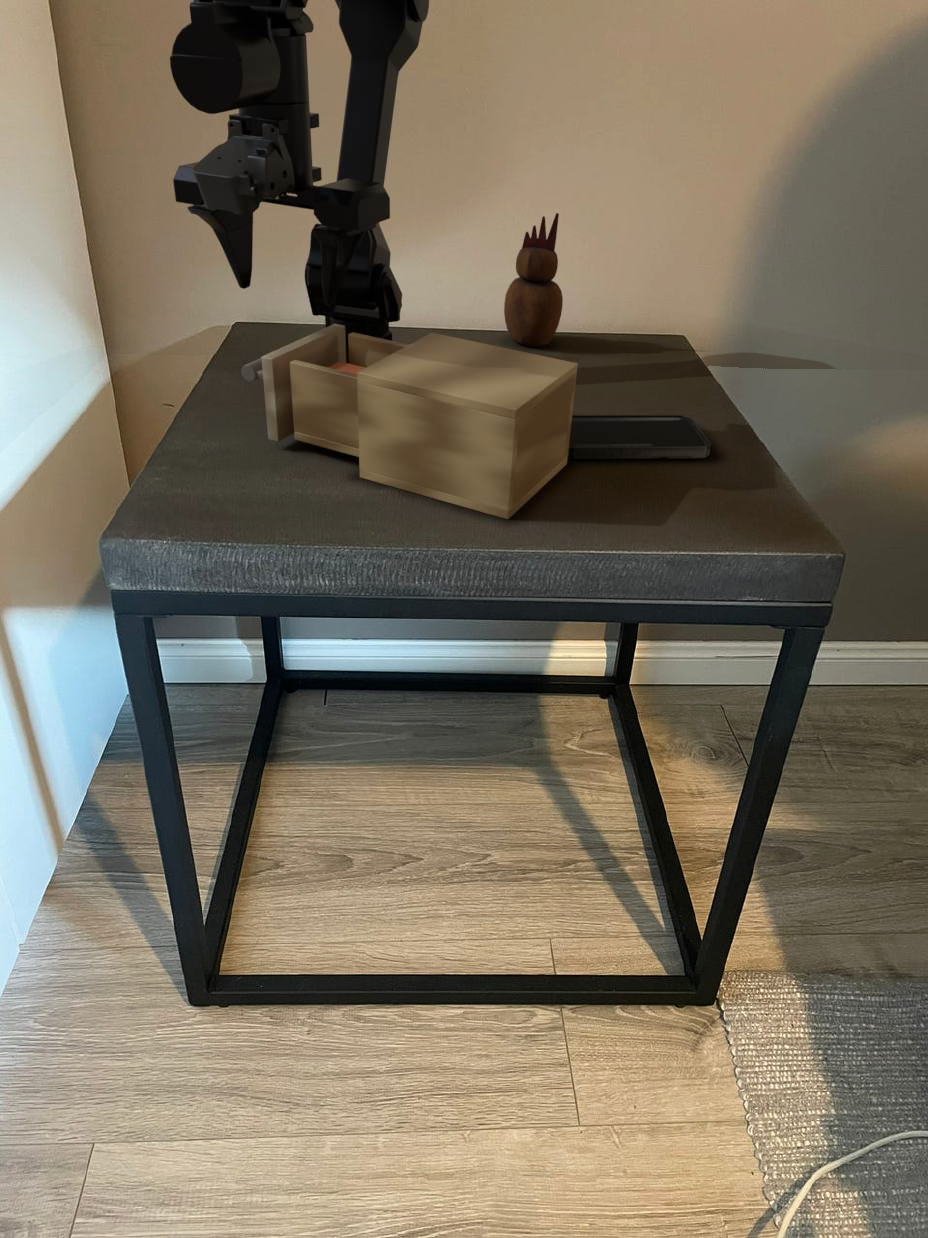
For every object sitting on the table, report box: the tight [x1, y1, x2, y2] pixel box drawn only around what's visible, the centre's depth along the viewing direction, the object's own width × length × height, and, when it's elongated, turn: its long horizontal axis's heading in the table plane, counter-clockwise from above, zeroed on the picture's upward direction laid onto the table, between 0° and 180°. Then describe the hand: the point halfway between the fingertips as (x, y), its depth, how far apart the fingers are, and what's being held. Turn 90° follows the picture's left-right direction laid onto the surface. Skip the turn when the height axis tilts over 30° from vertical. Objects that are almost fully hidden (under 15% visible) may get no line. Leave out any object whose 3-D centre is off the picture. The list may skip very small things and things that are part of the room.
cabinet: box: [357, 332, 579, 520], centre depth 83 cm, size 15×13×10 cm
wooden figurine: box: [503, 212, 564, 347], centre depth 112 cm, size 7×6×15 cm
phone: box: [567, 414, 712, 460], centre depth 92 cm, size 8×1×15 cm
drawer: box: [241, 324, 410, 458], centre depth 88 cm, size 18×11×8 cm, turn 62°
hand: (286, 295), depth 86 cm, fingers open, 9 cm apart
